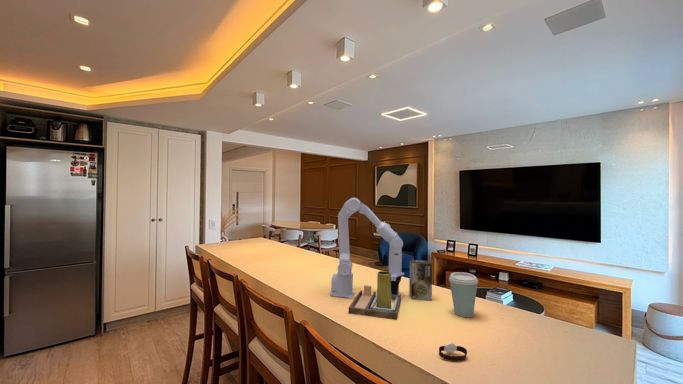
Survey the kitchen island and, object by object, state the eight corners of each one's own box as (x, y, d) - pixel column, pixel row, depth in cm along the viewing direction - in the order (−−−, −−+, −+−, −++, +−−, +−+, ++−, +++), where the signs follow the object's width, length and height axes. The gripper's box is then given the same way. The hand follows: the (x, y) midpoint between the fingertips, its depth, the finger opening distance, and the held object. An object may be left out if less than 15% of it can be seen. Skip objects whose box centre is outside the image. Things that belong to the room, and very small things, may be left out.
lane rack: (348, 313, 107) (348, 307, 107) (360, 295, 128) (360, 290, 128) (396, 319, 102) (396, 313, 102) (401, 299, 123) (401, 294, 124)
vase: (373, 309, 111) (374, 273, 112) (378, 304, 117) (379, 270, 117) (388, 312, 108) (389, 275, 109) (393, 307, 114) (394, 272, 114)
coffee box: (428, 295, 130) (429, 260, 130) (432, 300, 123) (432, 263, 124) (408, 294, 131) (409, 259, 131) (410, 299, 124) (411, 262, 125)
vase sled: (370, 310, 110) (370, 295, 110) (377, 294, 129) (378, 281, 129) (394, 313, 107) (394, 298, 108) (398, 296, 127) (398, 283, 127)
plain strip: (352, 311, 108) (352, 299, 108) (362, 295, 127) (362, 284, 127) (364, 313, 107) (364, 300, 107) (372, 296, 126) (373, 285, 126)
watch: (462, 353, 81) (462, 340, 81) (470, 362, 76) (470, 349, 76) (436, 353, 81) (436, 340, 81) (442, 362, 76) (442, 348, 76)
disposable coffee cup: (481, 321, 103) (482, 279, 103) (450, 318, 105) (451, 277, 106) (474, 310, 113) (474, 272, 114) (446, 307, 116) (446, 270, 116)
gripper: (403, 266, 119) (402, 299, 119) (405, 260, 133) (404, 289, 133) (386, 265, 121) (385, 297, 121) (390, 258, 135) (389, 287, 135)
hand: (394, 293), depth 127 cm, fingers open, 3 cm apart
